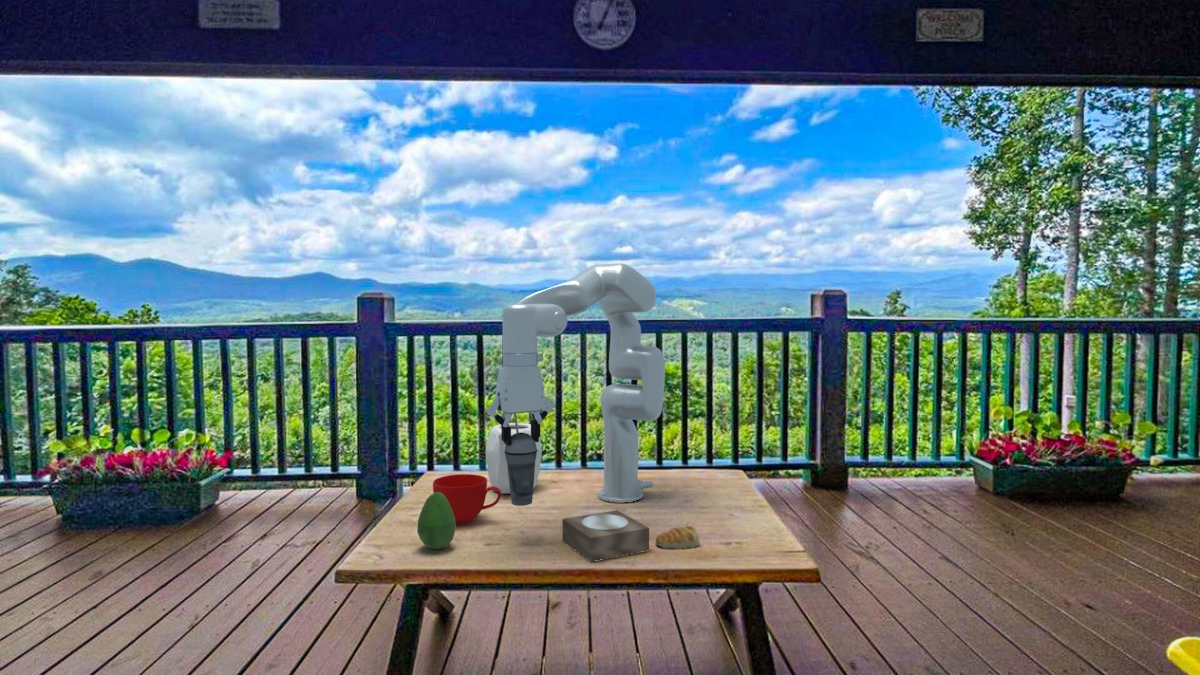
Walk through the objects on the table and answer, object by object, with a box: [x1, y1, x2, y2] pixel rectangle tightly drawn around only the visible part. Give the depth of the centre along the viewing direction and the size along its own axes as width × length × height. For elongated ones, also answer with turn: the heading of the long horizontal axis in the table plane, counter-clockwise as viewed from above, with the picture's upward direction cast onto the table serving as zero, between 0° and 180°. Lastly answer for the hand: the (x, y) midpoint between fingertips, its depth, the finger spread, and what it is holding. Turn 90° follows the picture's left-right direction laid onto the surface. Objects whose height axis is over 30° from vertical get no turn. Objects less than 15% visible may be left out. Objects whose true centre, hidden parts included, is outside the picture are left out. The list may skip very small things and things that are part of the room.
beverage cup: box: [504, 413, 537, 507], centre depth 139 cm, size 7×7×20 cm
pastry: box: [655, 525, 701, 549], centre depth 138 cm, size 9×7×4 cm
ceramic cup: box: [432, 473, 502, 526], centre depth 153 cm, size 13×17×10 cm
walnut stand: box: [561, 509, 650, 562], centre depth 137 cm, size 14×14×5 cm
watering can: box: [485, 422, 543, 495], centre depth 181 cm, size 16×27×19 cm, turn 172°
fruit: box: [416, 492, 457, 550], centre depth 135 cm, size 8×8×12 cm
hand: (521, 441), depth 138 cm, fingers closed on beverage cup, 5 cm apart
